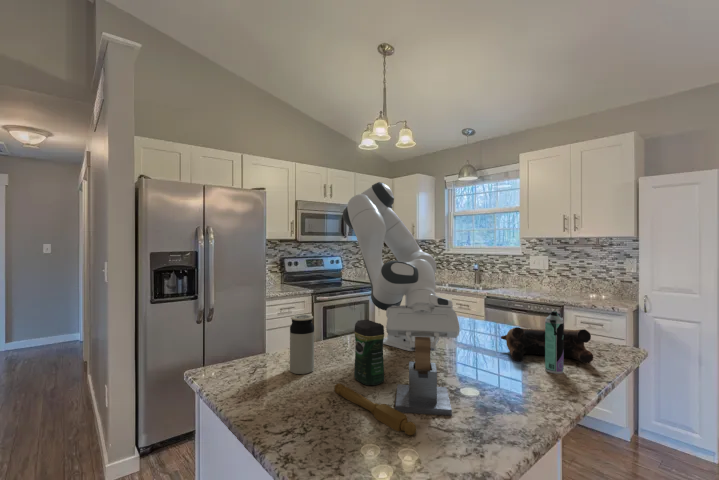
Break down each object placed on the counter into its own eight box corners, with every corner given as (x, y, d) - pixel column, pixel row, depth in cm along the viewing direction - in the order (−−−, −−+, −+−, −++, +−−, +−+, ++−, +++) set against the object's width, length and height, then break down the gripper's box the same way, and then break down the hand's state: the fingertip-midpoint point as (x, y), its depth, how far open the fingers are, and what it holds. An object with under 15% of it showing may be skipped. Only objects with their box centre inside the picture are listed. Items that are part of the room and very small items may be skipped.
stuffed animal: (599, 325, 127) (574, 319, 151) (504, 328, 133) (495, 321, 158) (604, 363, 125) (578, 351, 149) (508, 364, 131) (498, 352, 156)
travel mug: (318, 368, 124) (318, 315, 124) (305, 376, 117) (305, 320, 117) (298, 365, 127) (298, 313, 127) (284, 372, 120) (285, 317, 120)
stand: (397, 389, 107) (397, 357, 107) (446, 392, 105) (446, 359, 105) (395, 411, 93) (395, 374, 93) (451, 415, 91) (451, 377, 91)
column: (414, 391, 101) (414, 336, 101) (429, 392, 101) (429, 337, 101) (414, 397, 97) (415, 340, 97) (430, 398, 97) (430, 341, 96)
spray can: (565, 374, 119) (566, 313, 119) (547, 373, 120) (548, 312, 120) (560, 368, 124) (560, 310, 124) (542, 367, 126) (543, 309, 126)
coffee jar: (388, 383, 112) (388, 322, 112) (366, 388, 107) (367, 325, 107) (371, 373, 120) (371, 316, 120) (350, 377, 116) (350, 319, 116)
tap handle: (342, 381, 106) (419, 421, 82) (342, 391, 106) (419, 435, 82) (333, 383, 104) (409, 426, 80) (333, 394, 104) (409, 440, 80)
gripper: (386, 299, 107) (383, 341, 97) (457, 300, 104) (462, 344, 95) (387, 311, 112) (384, 353, 102) (455, 313, 109) (460, 356, 99)
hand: (422, 349), depth 98 cm, fingers closed on column, 4 cm apart
